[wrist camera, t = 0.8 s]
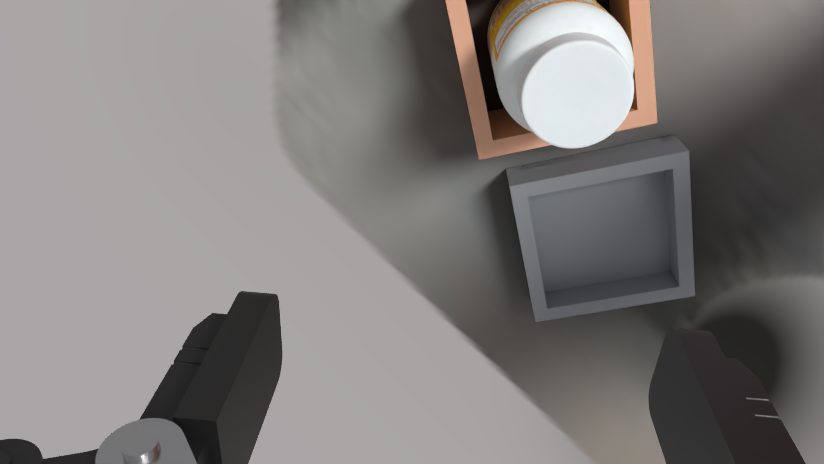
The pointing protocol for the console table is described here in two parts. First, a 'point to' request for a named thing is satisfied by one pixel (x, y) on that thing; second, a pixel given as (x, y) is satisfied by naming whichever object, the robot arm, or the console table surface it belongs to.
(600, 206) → the tray
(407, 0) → the console table surface
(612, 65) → the supplement bottle
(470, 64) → the holder cup
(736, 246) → the console table surface
